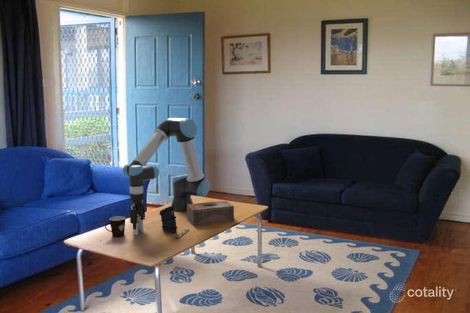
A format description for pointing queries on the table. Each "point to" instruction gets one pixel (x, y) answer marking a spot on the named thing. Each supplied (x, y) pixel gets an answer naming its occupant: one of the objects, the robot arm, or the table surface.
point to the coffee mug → (117, 226)
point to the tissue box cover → (210, 213)
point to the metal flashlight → (139, 223)
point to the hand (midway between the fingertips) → (138, 232)
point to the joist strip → (181, 234)
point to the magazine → (168, 220)
